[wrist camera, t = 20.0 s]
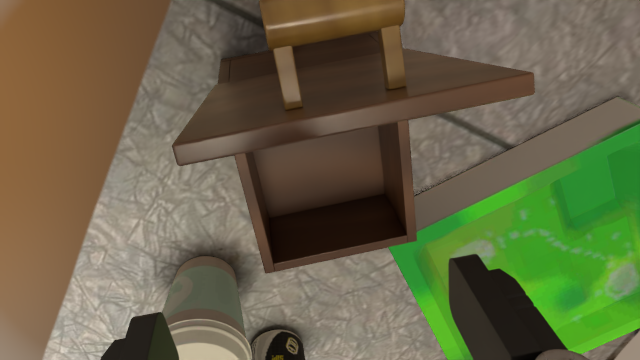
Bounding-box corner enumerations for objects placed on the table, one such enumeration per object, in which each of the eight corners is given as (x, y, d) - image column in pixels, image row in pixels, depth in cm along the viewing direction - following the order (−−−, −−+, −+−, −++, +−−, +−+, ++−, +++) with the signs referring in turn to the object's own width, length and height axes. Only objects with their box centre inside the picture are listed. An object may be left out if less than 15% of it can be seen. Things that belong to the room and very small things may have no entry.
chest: (391, 194, 47) (417, 241, 41) (261, 222, 47) (265, 273, 40) (375, 29, 40) (403, 52, 33) (220, 59, 39) (216, 88, 32)
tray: (453, 367, 60) (470, 403, 56) (374, 216, 48) (387, 246, 44) (650, 278, 58) (684, 308, 53) (617, 96, 46) (657, 115, 42)
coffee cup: (191, 229, 46) (176, 320, 36) (266, 268, 49) (273, 363, 39) (143, 291, 48) (117, 394, 38) (218, 324, 52) (213, 428, 41)
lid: (535, 94, 17) (530, -54, 16) (177, 167, 17) (135, 19, 15) (406, 60, 33) (396, -17, 31) (217, 97, 32) (198, 20, 31)
